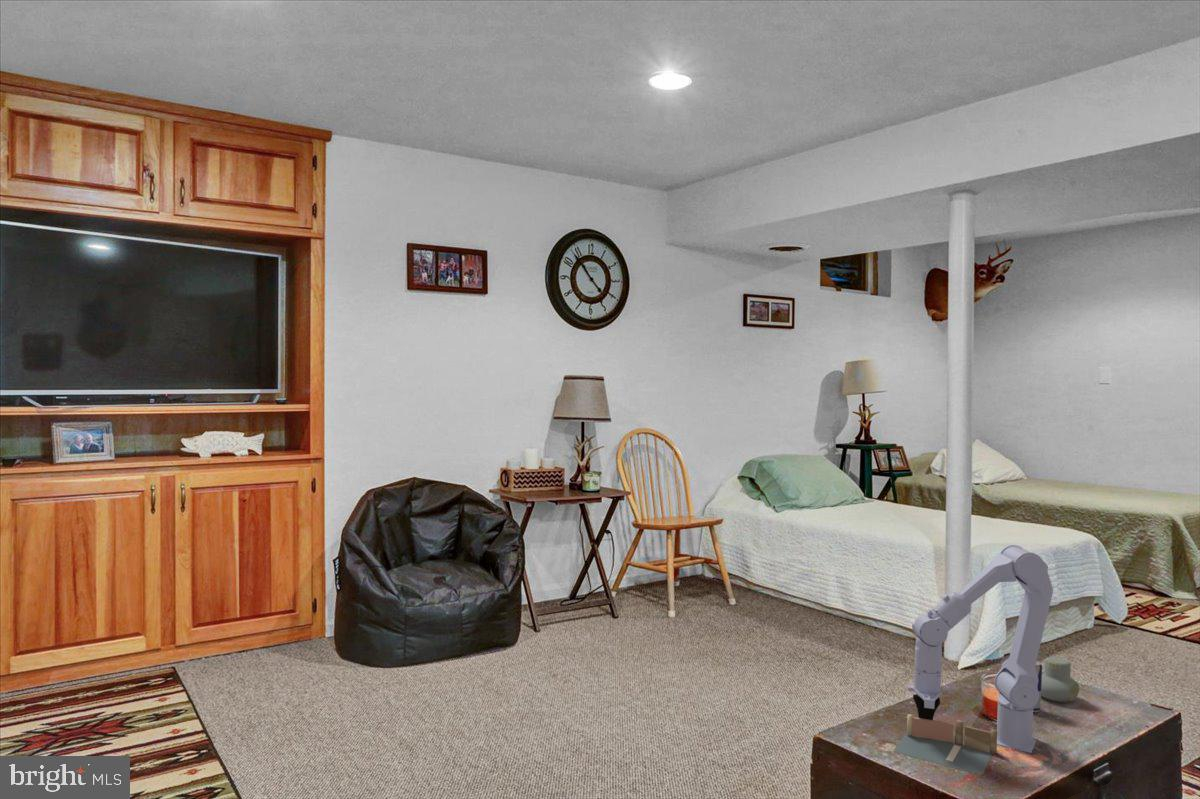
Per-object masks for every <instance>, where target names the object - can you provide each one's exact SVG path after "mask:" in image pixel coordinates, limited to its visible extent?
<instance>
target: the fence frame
mask: <svg viewBox="0 0 1200 799" xmlns="http://www.w3.org/2000/svg"><path fill="white" fill-rule="evenodd" d="M954 727H955V729H954V731H955V732H954V733H955V734H954V740H955V744H956V745H958V746H962V745H963V742H964V746H965V747H969V748H973V749H978V750H982V751H986V752H990V753H992V755H997V753H998V751H997V748H998V747H997V746H998V745H997V729H990V730H985V729H981V728H976V727H972V726H969V725H965V726H964V721H963V720H960V719H956V720H955V726H954Z"/></svg>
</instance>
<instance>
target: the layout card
mask: <svg viewBox="0 0 1200 799" xmlns="http://www.w3.org/2000/svg"><path fill="white" fill-rule="evenodd" d="M892 753H896V754H900V755H904V756H907V757H908V756H909V757H912V758H915V759H919V760H923V761H927V762H930V763H935V764H938V765H941V766H945V767H948V768H949V767H950V768H954V769H958V770H962V771H964V772H968V773H973V774H976V775H977V774H978V775H980V776H983V775H984V773H985V770H986V769H987V766H988V765H989V763H990V760H991V759H992V756H993V754H992V753H990V752H986V751H982V750H978V749H973V748H969V747H965V746H964V741H963V745H962V746H958V745H956V744H955V738H953V742H947V741H941V740H935V739H929V738H923V737H918V736H910V735H907V732H906V733H905V735H904V736H903V737H902V739H901V740H900V742H899V743H898V744H897V745H896V746H895V748H894V749H893V750H892Z"/></svg>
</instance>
